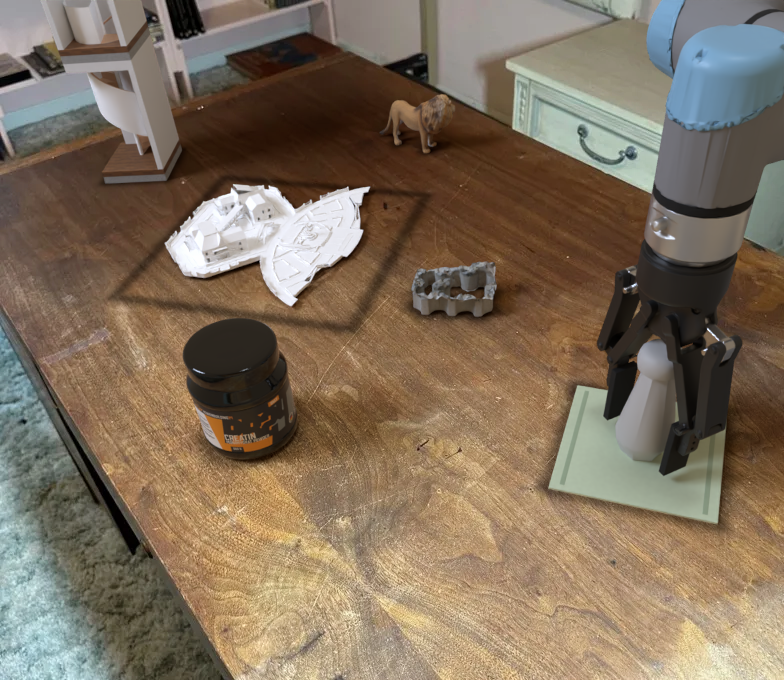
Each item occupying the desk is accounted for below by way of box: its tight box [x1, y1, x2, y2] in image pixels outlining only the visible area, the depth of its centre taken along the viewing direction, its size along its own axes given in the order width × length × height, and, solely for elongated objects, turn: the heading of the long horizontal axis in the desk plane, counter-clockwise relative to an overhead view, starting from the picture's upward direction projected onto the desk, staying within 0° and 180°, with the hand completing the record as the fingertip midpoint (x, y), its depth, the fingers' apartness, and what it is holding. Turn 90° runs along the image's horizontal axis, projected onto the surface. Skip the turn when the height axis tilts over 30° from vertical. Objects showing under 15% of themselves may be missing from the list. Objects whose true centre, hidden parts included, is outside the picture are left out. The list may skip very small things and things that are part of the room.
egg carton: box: [410, 261, 497, 318], centre depth 98 cm, size 11×8×4 cm
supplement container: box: [182, 317, 299, 461], centre depth 81 cm, size 10×10×12 cm
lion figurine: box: [379, 93, 456, 154], centre depth 129 cm, size 15×5×9 cm, turn 58°
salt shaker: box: [615, 338, 684, 461], centre depth 74 cm, size 6×6×13 cm
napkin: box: [548, 384, 728, 525], centre depth 79 cm, size 16×16×1 cm
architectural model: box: [164, 183, 371, 307], centre depth 112 cm, size 28×33×4 cm
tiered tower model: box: [39, 0, 183, 184], centre depth 121 cm, size 11×11×35 cm
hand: (642, 440), depth 78 cm, fingers open, 8 cm apart
